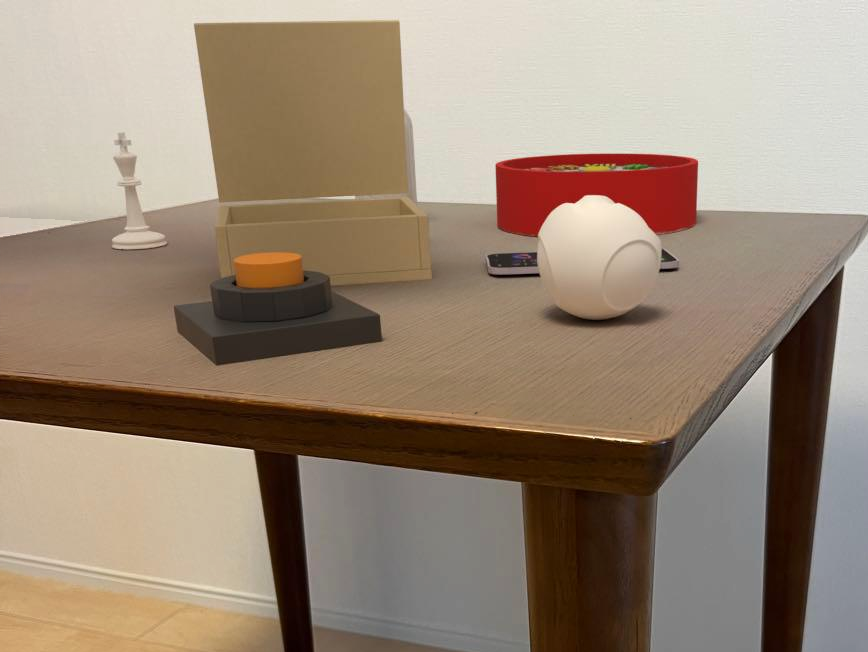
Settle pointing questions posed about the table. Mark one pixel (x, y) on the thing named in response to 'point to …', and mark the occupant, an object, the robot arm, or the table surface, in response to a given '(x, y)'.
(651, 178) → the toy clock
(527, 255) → the smartphone
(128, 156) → the chess piece
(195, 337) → the block
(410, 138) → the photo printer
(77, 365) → the table surface
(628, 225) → the motion sensor
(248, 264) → the button
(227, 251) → the open wooden box
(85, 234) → the table surface
